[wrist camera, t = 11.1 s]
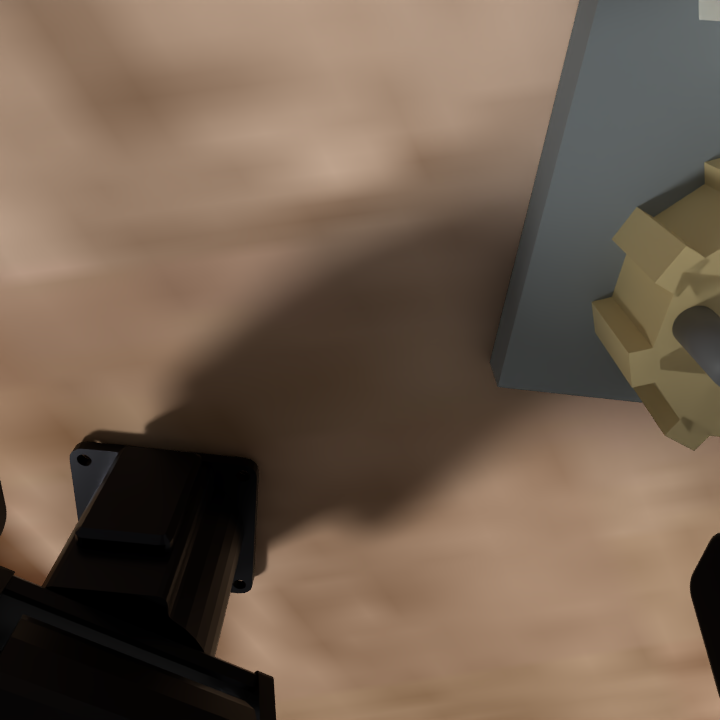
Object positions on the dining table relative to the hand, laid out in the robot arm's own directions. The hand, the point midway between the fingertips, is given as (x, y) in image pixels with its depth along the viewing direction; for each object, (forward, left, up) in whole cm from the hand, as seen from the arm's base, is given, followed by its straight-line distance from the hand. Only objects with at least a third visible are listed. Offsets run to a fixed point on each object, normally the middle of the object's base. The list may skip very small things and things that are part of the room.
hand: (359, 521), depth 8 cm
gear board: (+4, -10, -12) cm, 16 cm away
